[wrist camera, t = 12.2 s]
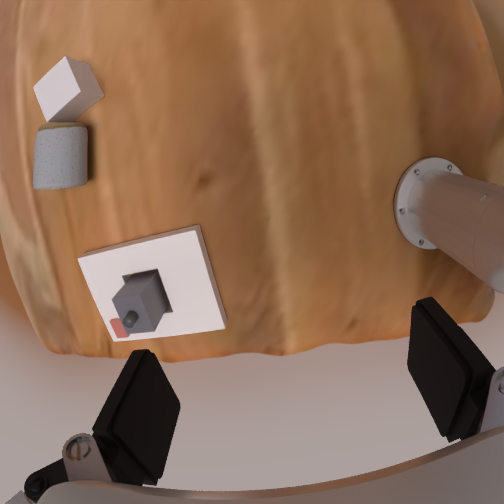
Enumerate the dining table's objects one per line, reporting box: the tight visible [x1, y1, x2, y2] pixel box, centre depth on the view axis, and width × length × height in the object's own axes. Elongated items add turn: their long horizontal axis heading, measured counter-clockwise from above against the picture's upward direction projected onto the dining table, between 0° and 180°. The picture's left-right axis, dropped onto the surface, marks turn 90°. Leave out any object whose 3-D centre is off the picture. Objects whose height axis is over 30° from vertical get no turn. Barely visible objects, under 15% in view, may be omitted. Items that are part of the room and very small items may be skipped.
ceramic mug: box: [33, 122, 88, 190], centre depth 31 cm, size 11×8×8 cm
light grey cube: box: [33, 56, 104, 122], centre depth 29 cm, size 6×6×6 cm
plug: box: [112, 269, 170, 334], centre depth 36 cm, size 4×5×10 cm
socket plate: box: [77, 225, 227, 342], centre depth 39 cm, size 18×14×3 cm
